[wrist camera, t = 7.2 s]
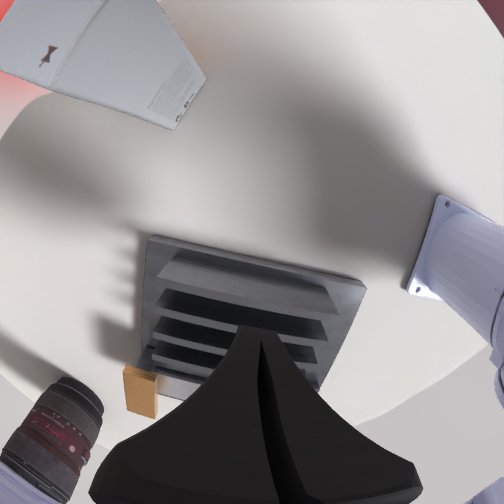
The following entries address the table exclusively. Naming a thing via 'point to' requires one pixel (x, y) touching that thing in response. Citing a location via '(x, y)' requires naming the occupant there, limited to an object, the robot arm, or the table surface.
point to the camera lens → (55, 439)
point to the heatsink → (232, 313)
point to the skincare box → (103, 55)
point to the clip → (177, 382)
